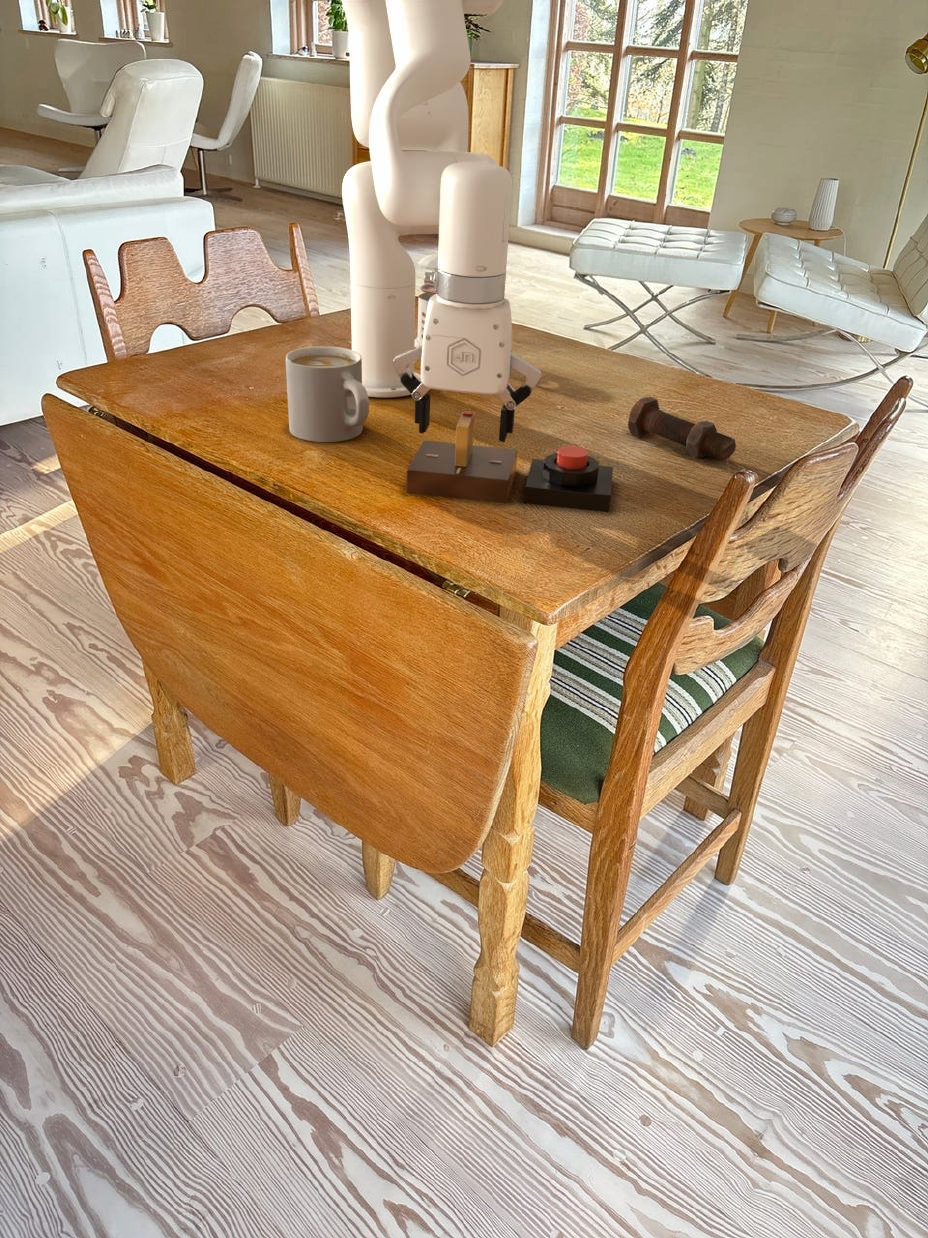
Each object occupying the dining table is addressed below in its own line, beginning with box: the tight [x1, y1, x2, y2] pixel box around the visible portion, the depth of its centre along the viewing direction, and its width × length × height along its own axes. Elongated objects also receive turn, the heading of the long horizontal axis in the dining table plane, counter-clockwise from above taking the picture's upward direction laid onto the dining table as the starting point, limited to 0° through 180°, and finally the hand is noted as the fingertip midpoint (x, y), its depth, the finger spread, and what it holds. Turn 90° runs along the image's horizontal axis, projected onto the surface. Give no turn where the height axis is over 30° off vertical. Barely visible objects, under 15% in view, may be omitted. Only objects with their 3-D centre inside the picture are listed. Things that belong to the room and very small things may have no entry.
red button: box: [556, 445, 589, 469], centre depth 114 cm, size 4×4×2 cm
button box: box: [523, 452, 614, 513], centre depth 115 cm, size 10×9×4 cm
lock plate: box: [406, 440, 518, 504], centre depth 117 cm, size 12×10×3 cm
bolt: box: [627, 396, 737, 462], centre depth 129 cm, size 6×5×15 cm
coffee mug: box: [285, 345, 370, 443], centre depth 127 cm, size 13×10×10 cm
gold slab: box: [455, 410, 475, 467], centre depth 114 cm, size 5×1×5 cm, turn 171°
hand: (463, 433), depth 115 cm, fingers open, 9 cm apart
